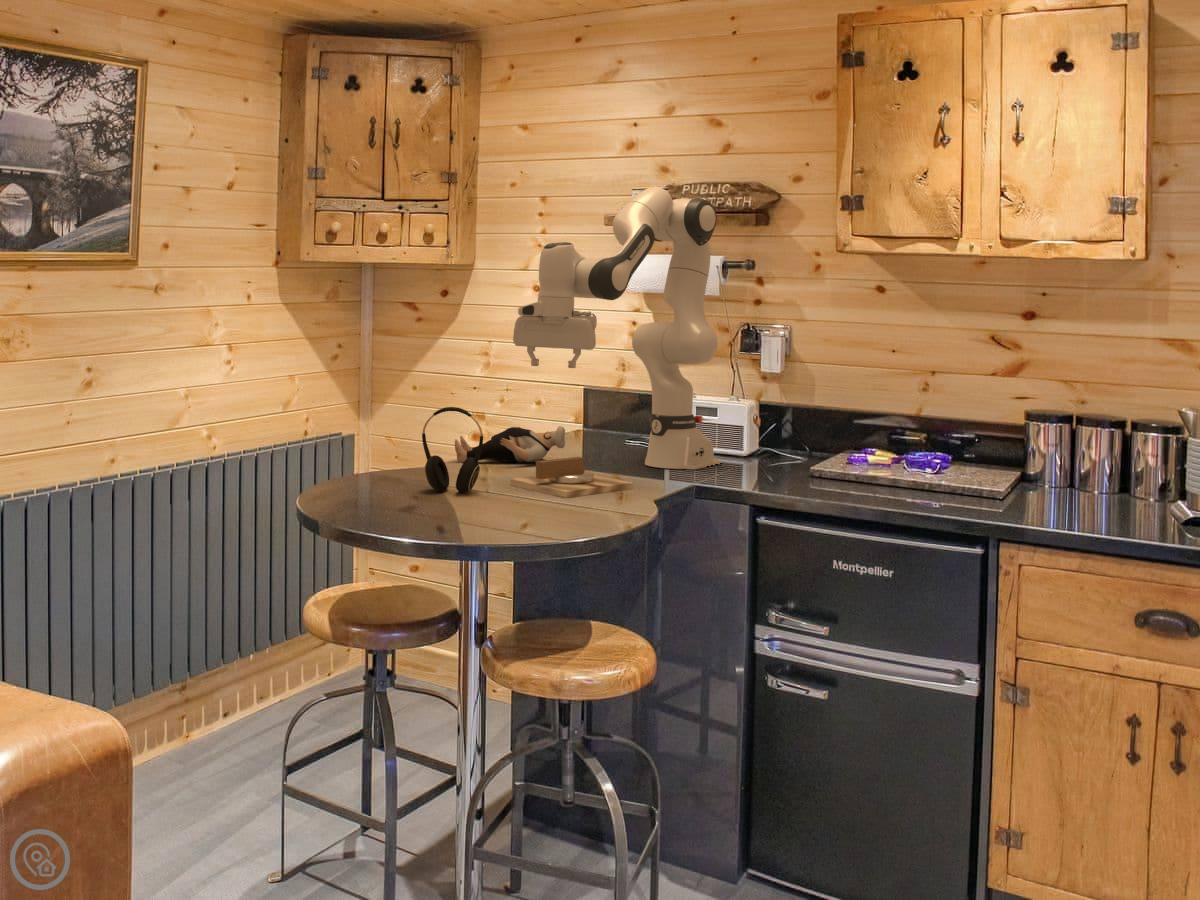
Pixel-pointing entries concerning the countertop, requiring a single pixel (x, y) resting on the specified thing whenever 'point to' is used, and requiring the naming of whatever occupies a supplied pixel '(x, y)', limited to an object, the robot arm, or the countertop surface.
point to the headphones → (438, 469)
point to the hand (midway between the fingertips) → (553, 367)
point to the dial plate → (571, 486)
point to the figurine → (514, 445)
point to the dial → (564, 470)
